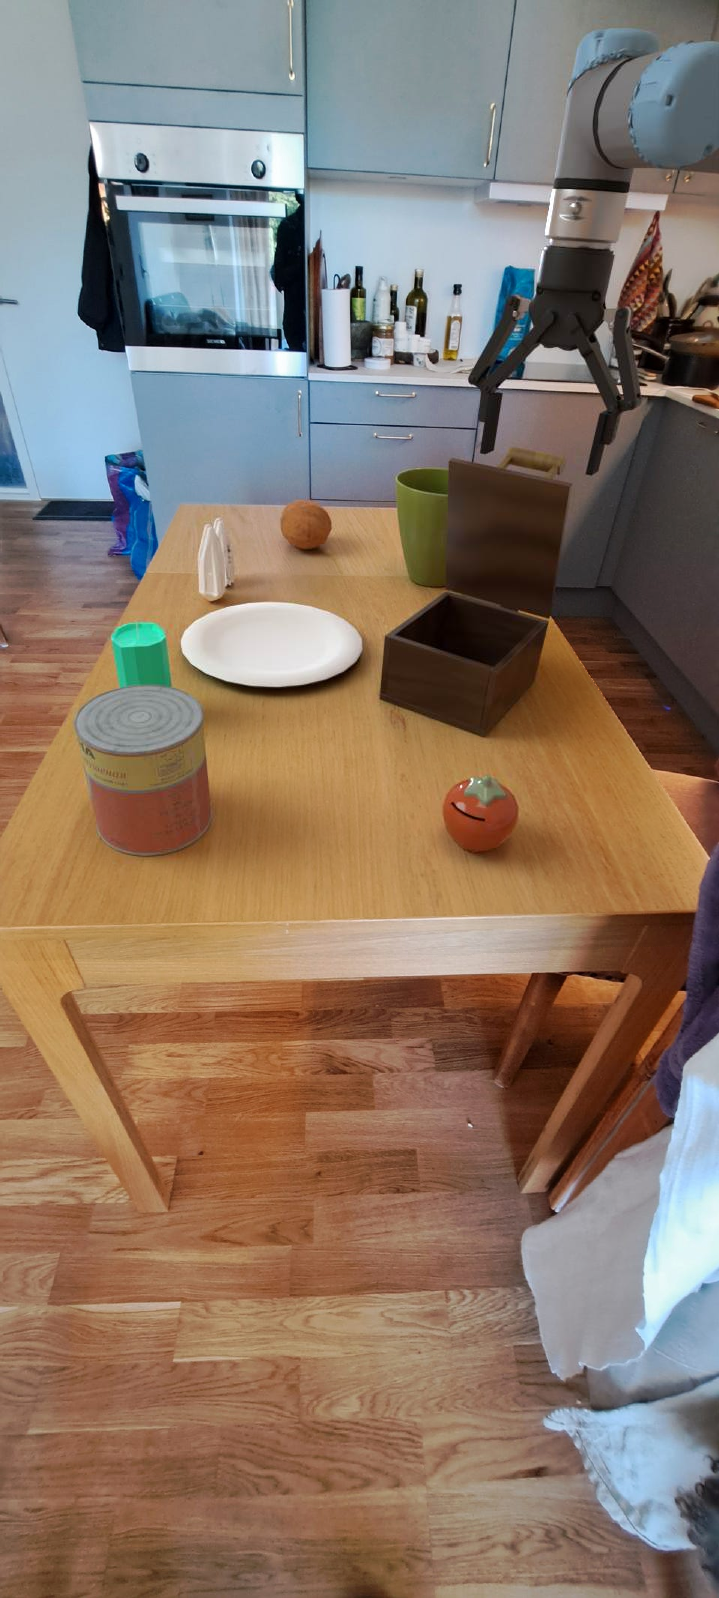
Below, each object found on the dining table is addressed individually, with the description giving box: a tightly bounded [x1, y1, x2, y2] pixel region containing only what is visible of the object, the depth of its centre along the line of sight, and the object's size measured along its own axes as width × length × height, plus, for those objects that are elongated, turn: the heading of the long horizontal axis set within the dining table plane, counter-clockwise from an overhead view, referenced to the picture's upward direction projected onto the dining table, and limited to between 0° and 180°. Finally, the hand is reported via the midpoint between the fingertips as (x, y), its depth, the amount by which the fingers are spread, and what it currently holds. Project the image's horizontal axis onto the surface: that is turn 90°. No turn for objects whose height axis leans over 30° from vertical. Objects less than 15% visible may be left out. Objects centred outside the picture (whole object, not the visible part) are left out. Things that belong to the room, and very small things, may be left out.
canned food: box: [73, 685, 213, 857], centre depth 70 cm, size 11×11×12 cm
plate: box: [180, 601, 363, 689], centre depth 102 cm, size 25×25×2 cm
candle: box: [110, 620, 173, 688], centre depth 84 cm, size 6×6×12 cm
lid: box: [444, 446, 573, 620], centre depth 92 cm, size 18×15×10 cm
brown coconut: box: [279, 499, 333, 550], centre depth 132 cm, size 9×11×8 cm
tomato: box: [441, 774, 520, 853], centre depth 71 cm, size 7×7×8 cm
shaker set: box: [197, 517, 235, 602], centre depth 113 cm, size 12×4×11 cm, turn 177°
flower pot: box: [395, 467, 448, 588], centre depth 121 cm, size 15×15×16 cm
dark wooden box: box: [379, 590, 550, 738], centre depth 94 cm, size 17×15×9 cm
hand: (537, 462), depth 90 cm, fingers open, 13 cm apart
